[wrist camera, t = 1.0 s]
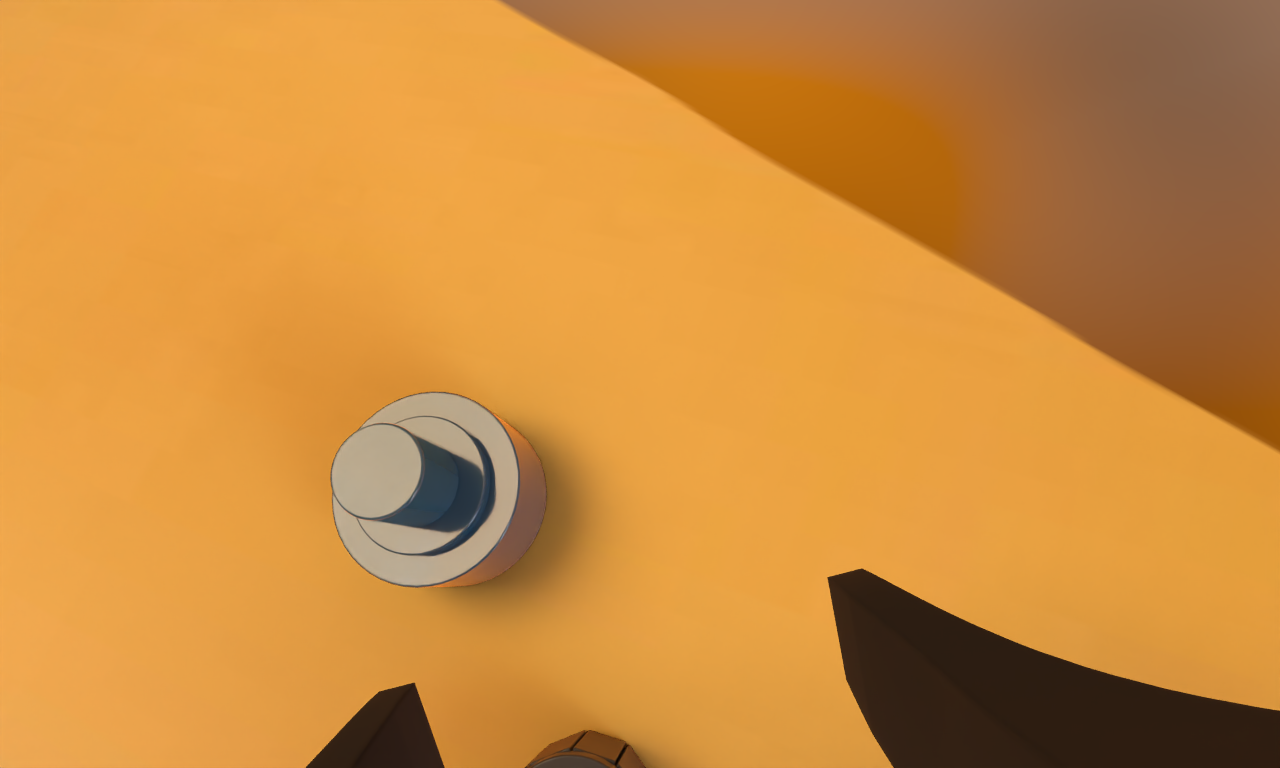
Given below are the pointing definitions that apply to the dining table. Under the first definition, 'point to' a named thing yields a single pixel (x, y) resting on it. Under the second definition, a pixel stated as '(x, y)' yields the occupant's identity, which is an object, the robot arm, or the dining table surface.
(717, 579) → the dining table surface
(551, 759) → the cap
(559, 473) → the dining table surface
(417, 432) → the bottle
